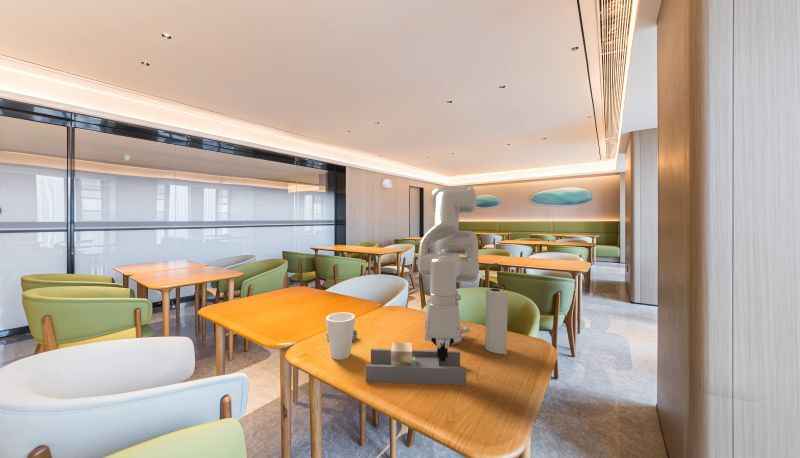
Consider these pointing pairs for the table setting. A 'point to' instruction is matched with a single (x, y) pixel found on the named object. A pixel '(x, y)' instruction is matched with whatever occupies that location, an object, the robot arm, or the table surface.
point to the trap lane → (416, 368)
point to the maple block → (401, 354)
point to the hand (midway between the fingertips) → (442, 359)
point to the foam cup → (340, 334)
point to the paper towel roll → (496, 321)
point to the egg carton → (352, 337)
